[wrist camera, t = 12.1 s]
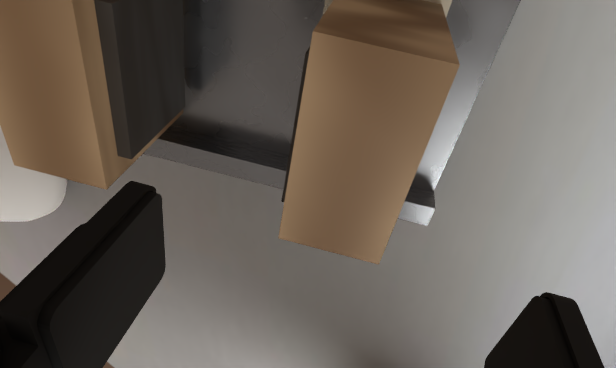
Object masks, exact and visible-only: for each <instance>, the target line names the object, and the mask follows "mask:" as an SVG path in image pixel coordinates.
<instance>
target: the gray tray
mask: <svg viewBox="0 0 616 368" xmlns="http://www.w3.org/2000/svg"><path fill="white" fill-rule="evenodd" d="M332 1H333V0H183V33H184V71H185V108H184V109H183V114H182V115H181V116H180V117H179V118H178V119H177V120H176V121H175V122H174V123H173V124H172V125H171V126H170V127H169V128H168V129H167V130H166V131H165V132H164V133H163V134H162V135H161V136H160V137H159V138H158V139H157V140H156V141H155V142H154V143H153V144H152V145H151V146H150V147H149V148H148V149H147V150H146V151H145V152H144V153H143V154H147V155H151V156H155V157H159V158H163V159H167V160H171V161H175V162H179V163H183V164H187V165H190V166H194V167H198V168H202V169H206V170H210V171H214V172H218V173H222V174H226V175H230V176H234V177H237V178H241V179H245V180H249V181H253V182H257V183H261V184H265V185H269V186H273V187H277V188H281V189H284V183H285V177H286V171H287V165H288V158H289V152H290V146H291V140H292V133H293V127H294V121H295V115H296V109H297V102H298V96H299V90H300V84H301V77H302V71H303V65H304V59H305V53H306V51H307V50H308V48H309V47H310V45H311V39H312V33H313V30H314V29H315V27H316V26H317V24H318V23H319V21H320V19H321V18H322V16H323V15H324V13H325V12H326V10H327V9H328V7H329V6H330V4H331V3H332ZM424 1H428V2H433V3H437V4H442V7H443V10H444V13H445V17H446V20H447V24H448V27H449V30H450V34H451V37H452V40H453V44H454V47H455V51H456V54H457V57H458V61H459V64H460V66H459V68H458V71H457V73H456V76H455V78H454V81H453V83H452V86H451V88H450V90H449V93H448V95H447V98H446V100H445V103H444V105H443V108H442V110H441V113H440V115H439V118H438V120H437V122H436V125H435V127H434V130H433V132H432V135H431V137H430V140H429V142H428V145H427V147H426V150H425V152H424V154H423V157H422V159H421V162H420V164H419V167H418V169H417V172H416V174H415V177H414V179H413V182H412V184H411V186H410V189H409V191H408V194H407V196H406V199H405V201H404V204H403V206H402V209H401V211H400V214H399V216H398V219H402V220H406V221H410V222H414V223H418V224H422V225H425V226H427V225H428V223H429V221H430V219H431V217H432V215H433V213H434V210H435V200H434V189H435V187H436V185H437V183H438V181H439V179H440V176H441V174H442V172H443V170H444V168H445V165H446V163H447V161H448V159H449V157H450V154H451V152H452V150H453V148H454V146H455V143H456V141H457V139H458V137H459V135H460V132H461V130H462V128H463V126H464V124H465V121H466V119H467V117H468V115H469V113H470V110H471V108H472V106H473V104H474V102H475V100H476V97H477V95H478V93H479V91H480V89H481V86H482V84H483V82H484V80H485V78H486V75H487V73H488V71H489V69H490V67H491V64H492V62H493V60H494V58H495V56H496V53H497V51H498V49H499V47H500V45H501V42H502V40H503V38H504V36H505V34H506V31H507V29H508V27H509V25H510V23H511V21H512V18H513V16H514V14H515V12H516V10H517V7H518V5H519V3H520V1H521V0H424Z"/></svg>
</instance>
